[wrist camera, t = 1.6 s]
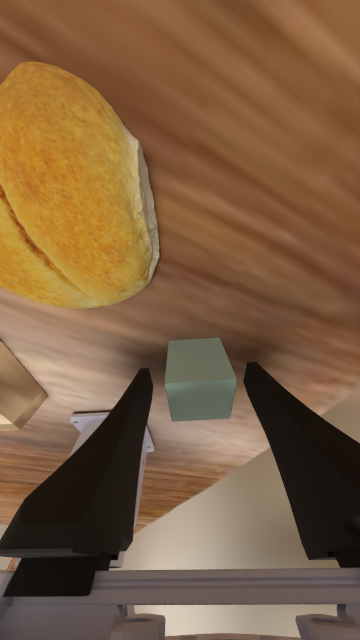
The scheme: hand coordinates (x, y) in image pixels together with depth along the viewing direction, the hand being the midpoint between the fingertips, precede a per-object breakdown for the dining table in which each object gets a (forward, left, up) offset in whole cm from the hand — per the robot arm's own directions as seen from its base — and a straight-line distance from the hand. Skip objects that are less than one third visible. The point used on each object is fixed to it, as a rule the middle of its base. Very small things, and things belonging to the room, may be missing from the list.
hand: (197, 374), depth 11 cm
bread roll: (+10, +6, -2) cm, 12 cm away
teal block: (0, 0, -2) cm, 2 cm away
